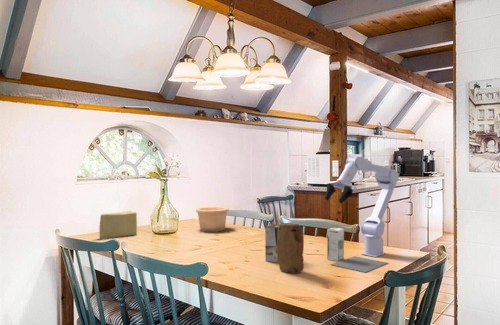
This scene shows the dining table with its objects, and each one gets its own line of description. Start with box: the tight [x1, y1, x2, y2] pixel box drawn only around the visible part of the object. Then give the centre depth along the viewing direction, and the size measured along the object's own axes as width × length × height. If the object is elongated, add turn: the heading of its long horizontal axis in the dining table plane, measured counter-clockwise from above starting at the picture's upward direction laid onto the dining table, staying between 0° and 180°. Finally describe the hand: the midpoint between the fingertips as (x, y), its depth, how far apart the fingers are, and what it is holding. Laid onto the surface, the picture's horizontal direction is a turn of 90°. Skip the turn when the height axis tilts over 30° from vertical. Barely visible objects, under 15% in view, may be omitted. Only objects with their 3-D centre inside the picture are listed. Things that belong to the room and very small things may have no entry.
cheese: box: [99, 210, 138, 240], centre depth 243 cm, size 22×10×15 cm, turn 133°
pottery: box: [195, 206, 229, 233], centre depth 262 cm, size 22×22×14 cm
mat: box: [330, 256, 389, 274], centre depth 174 cm, size 20×17×1 cm
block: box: [277, 222, 305, 274], centre depth 165 cm, size 11×8×20 cm
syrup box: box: [326, 227, 345, 262], centre depth 183 cm, size 6×6×14 cm
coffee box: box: [264, 223, 279, 263], centre depth 183 cm, size 9×6×16 cm
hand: (333, 200), depth 175 cm, fingers open, 7 cm apart
